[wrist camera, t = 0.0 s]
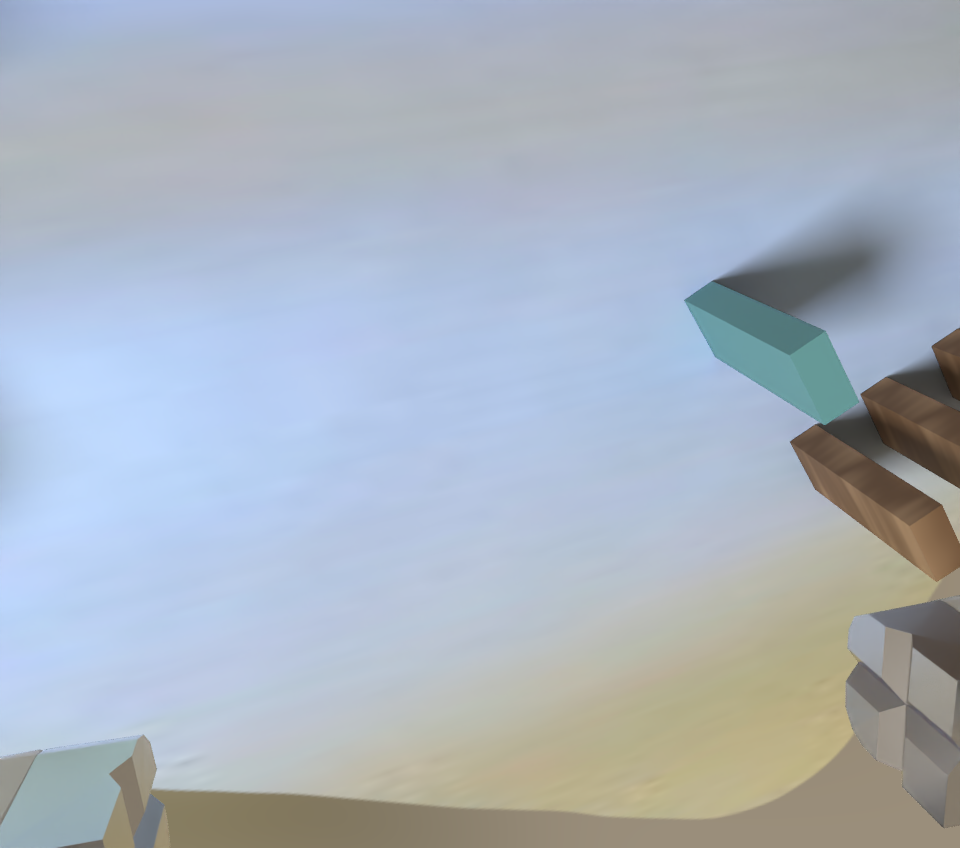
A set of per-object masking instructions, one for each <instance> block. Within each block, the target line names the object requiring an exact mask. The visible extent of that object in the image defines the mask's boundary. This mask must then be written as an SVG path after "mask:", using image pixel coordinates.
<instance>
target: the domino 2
mask: <svg viewBox="0 0 960 848" xmlns="http://www.w3.org/2000/svg"><path fill="white" fill-rule="evenodd" d="M861 397H862V399H863V401H864V403H865V405H866V407H867V409H868V411H869V413H870V416H871V418H872V420H873V422H874V424H875V426H876V428H877V430H878V432H879V435H880V437H881V439H882V441H883V443H884V444H885V445H887V446H889V447H890V448H892V449H894V450H895V451H897V452H899V453H900V454H902V455H904V456H906V457H907V458H909V459H911V460H912V461H914V462H916V463H917V464H919V465H921V466H922V467H924V468H926V469H928V470H929V471H931V472H933V473H934V474H936V475H938V476H939V477H941V478H943V479H944V480H946V481H948V482H950V483H951V484H953V485H955V486H956V487H958V488H960V412H959V411H957V410H955V409H953V408H951V407H949V406H947V405H945V404H942V403H940V402H938V401H936V400H934V399H932V398H930V397H928V396H926V395H923V394H921V393H919V392H917V391H915V390H913V389H911V388H909V387H907V386H904V385H902V384H900V383H898V382H896V381H894V380H892V379H890V378H887V377H885V378H884V379H882V380H881V381H879V382H878V383H876V384H875V385H874V386H872V387H871V388H869V389H868V390H866V391H865V392H863V393H862V394H861Z"/></svg>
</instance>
